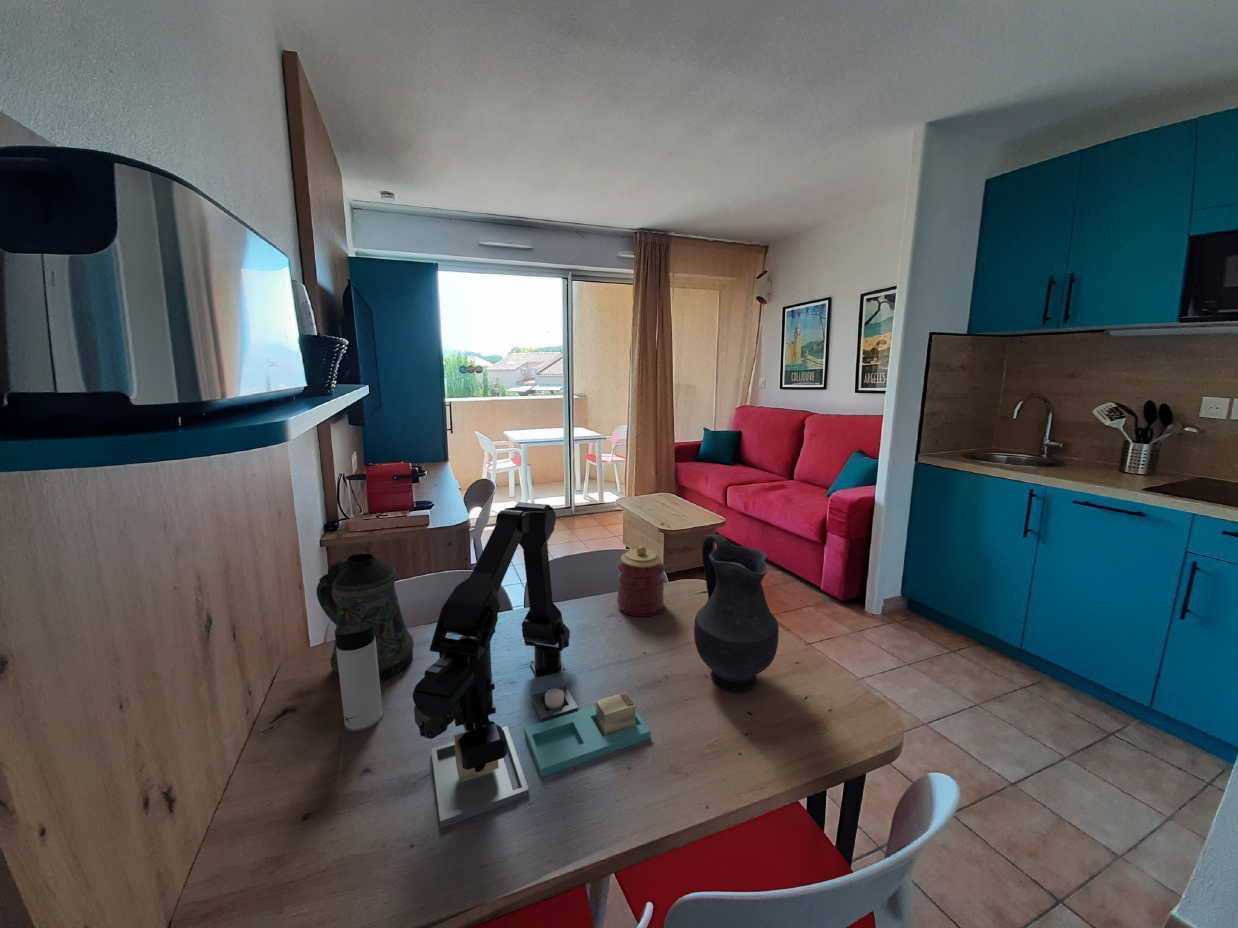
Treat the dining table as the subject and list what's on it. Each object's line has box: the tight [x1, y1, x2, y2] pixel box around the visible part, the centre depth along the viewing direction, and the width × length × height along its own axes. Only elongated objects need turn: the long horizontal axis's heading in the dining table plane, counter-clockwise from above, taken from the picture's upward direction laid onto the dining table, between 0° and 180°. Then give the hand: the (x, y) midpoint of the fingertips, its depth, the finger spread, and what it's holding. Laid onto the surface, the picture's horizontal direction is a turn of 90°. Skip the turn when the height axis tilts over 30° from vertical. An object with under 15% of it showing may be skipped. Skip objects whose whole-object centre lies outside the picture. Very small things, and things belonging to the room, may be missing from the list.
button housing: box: [531, 685, 579, 723], centre depth 94 cm, size 7×7×2 cm
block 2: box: [595, 691, 637, 737], centre depth 88 cm, size 4×6×5 cm, turn 115°
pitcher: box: [693, 533, 780, 694], centre depth 104 cm, size 17×21×30 cm
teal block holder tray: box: [524, 705, 652, 778], centre depth 87 cm, size 10×20×2 cm, turn 115°
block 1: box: [453, 731, 499, 781], centre depth 78 cm, size 4×6×5 cm, turn 115°
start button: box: [544, 688, 565, 712], centre depth 93 cm, size 4×4×2 cm
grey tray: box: [430, 725, 530, 829], centre depth 79 cm, size 15×13×2 cm
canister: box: [616, 545, 666, 618], centre depth 134 cm, size 13×13×18 cm
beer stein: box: [316, 553, 415, 682], centre depth 106 cm, size 16×19×25 cm
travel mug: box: [334, 620, 384, 732], centre depth 89 cm, size 6×7×20 cm
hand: (477, 760), depth 78 cm, fingers closed on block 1, 4 cm apart
